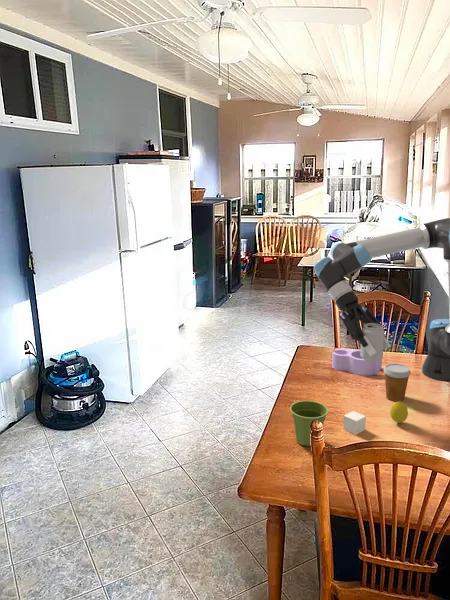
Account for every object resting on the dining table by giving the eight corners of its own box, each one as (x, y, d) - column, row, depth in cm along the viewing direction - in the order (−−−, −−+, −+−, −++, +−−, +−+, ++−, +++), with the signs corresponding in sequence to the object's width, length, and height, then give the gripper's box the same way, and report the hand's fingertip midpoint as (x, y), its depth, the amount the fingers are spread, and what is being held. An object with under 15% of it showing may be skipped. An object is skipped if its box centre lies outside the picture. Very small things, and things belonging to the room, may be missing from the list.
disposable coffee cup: (414, 400, 183) (416, 370, 180) (392, 405, 180) (394, 374, 177) (397, 390, 191) (399, 361, 188) (376, 394, 188) (378, 365, 185)
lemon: (408, 427, 164) (409, 405, 162) (390, 426, 165) (392, 404, 163) (405, 419, 169) (407, 398, 167) (388, 418, 170) (390, 397, 168)
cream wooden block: (352, 424, 167) (353, 410, 166) (365, 430, 164) (365, 416, 162) (343, 429, 164) (343, 415, 163) (355, 435, 161) (356, 421, 159)
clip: (329, 371, 212) (330, 356, 210) (335, 361, 223) (336, 346, 221) (378, 378, 203) (378, 362, 202) (382, 367, 214) (383, 352, 213)
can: (367, 352, 176) (369, 320, 173) (387, 358, 171) (389, 324, 168) (355, 358, 171) (357, 325, 168) (375, 364, 166) (377, 330, 163)
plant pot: (313, 455, 150) (314, 421, 147) (282, 442, 158) (282, 409, 155) (334, 439, 158) (335, 407, 155) (303, 427, 166) (303, 396, 163)
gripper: (355, 297, 184) (390, 349, 176) (318, 307, 172) (355, 364, 164) (367, 285, 179) (405, 338, 171) (330, 295, 167) (369, 353, 159)
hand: (380, 351), depth 167 cm, fingers closed on can, 7 cm apart
